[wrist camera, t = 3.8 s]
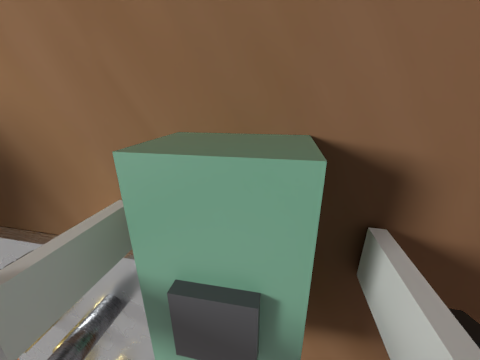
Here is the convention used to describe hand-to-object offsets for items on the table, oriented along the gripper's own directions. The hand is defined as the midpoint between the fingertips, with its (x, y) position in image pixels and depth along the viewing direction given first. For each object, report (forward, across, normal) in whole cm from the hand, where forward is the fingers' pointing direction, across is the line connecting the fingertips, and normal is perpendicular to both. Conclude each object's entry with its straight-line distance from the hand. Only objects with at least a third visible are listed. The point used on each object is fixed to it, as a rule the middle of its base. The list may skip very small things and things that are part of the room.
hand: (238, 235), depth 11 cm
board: (0, 0, 0) cm, 0 cm away
